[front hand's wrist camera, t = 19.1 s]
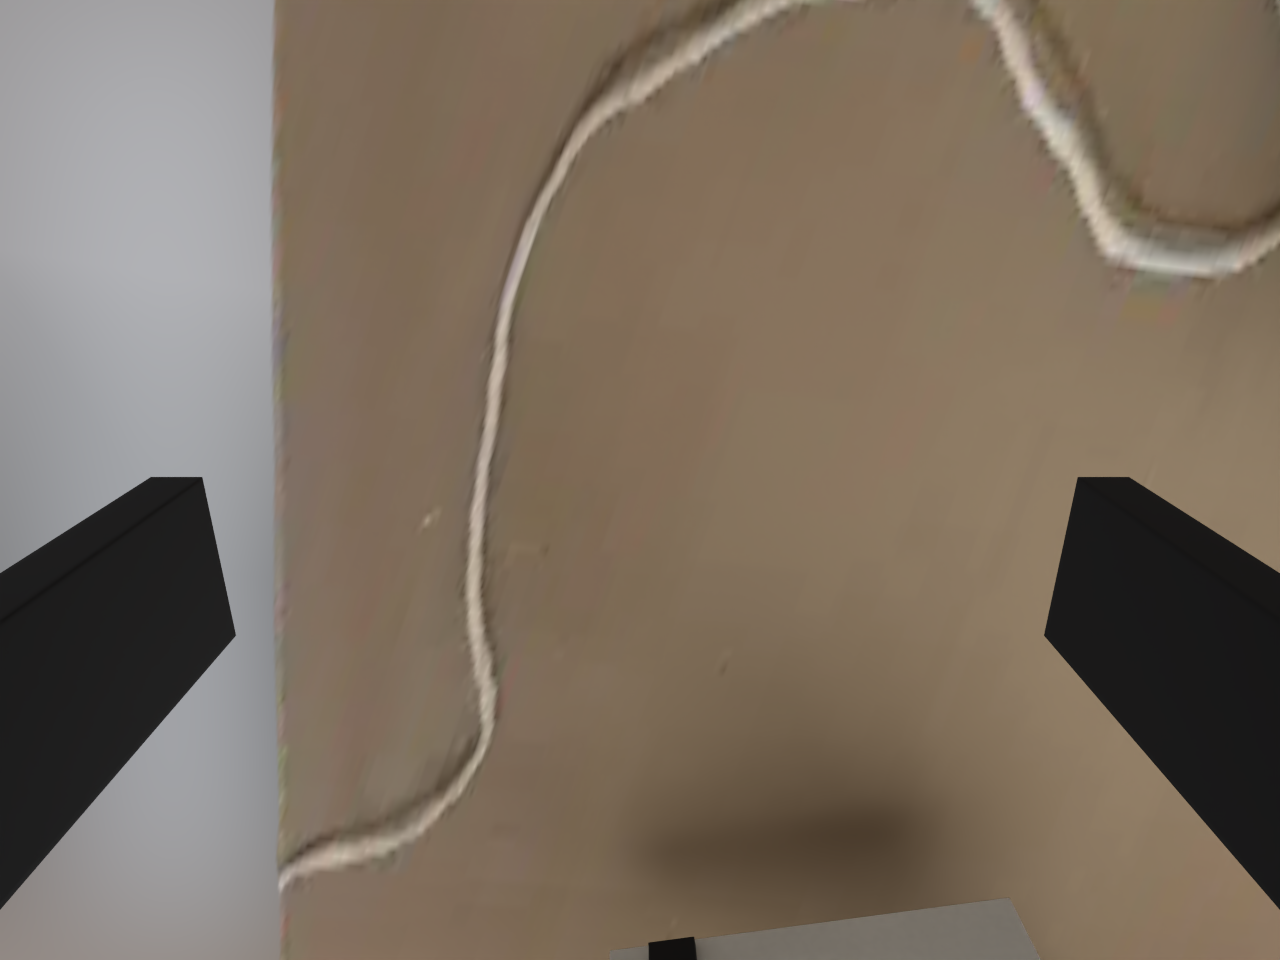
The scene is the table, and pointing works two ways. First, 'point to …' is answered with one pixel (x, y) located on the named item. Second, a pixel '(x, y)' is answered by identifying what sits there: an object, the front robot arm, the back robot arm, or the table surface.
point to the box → (880, 938)
